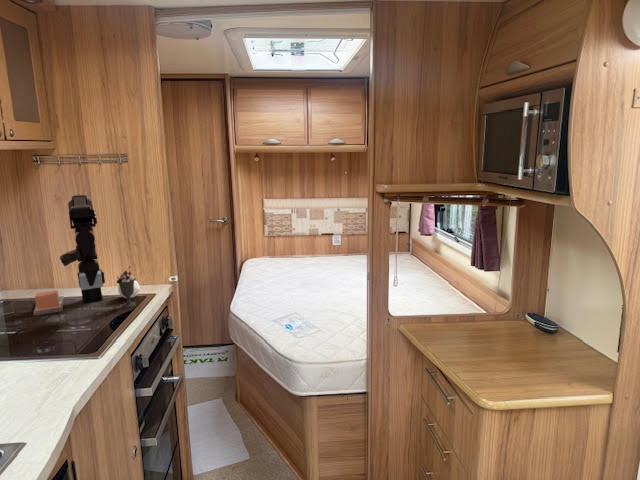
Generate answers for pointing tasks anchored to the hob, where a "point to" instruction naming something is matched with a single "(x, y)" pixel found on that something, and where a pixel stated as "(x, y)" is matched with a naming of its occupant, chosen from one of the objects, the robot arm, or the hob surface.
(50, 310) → the build plate
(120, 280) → the sundae
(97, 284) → the slate brick
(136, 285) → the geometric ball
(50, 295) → the terracotta brick
